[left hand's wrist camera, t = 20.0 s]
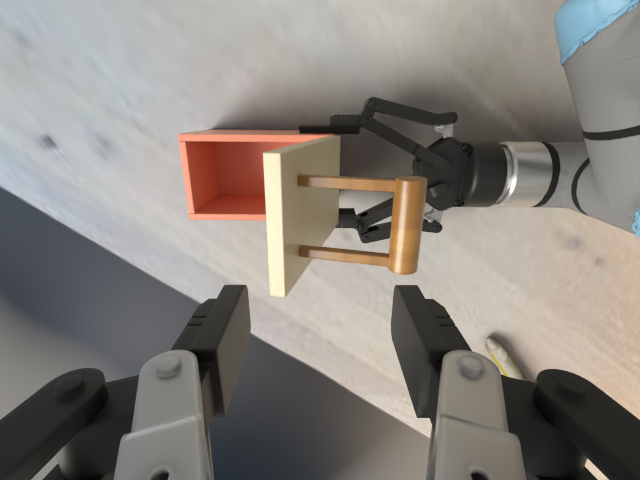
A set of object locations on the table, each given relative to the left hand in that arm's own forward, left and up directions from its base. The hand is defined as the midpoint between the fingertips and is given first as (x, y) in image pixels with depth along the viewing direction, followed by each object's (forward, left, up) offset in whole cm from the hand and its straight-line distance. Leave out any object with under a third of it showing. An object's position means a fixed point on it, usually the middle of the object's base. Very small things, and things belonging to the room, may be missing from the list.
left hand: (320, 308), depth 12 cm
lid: (-1, 0, -17) cm, 17 cm away
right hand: (-3, 0, -29) cm, 29 cm away
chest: (-7, 0, -36) cm, 37 cm away
